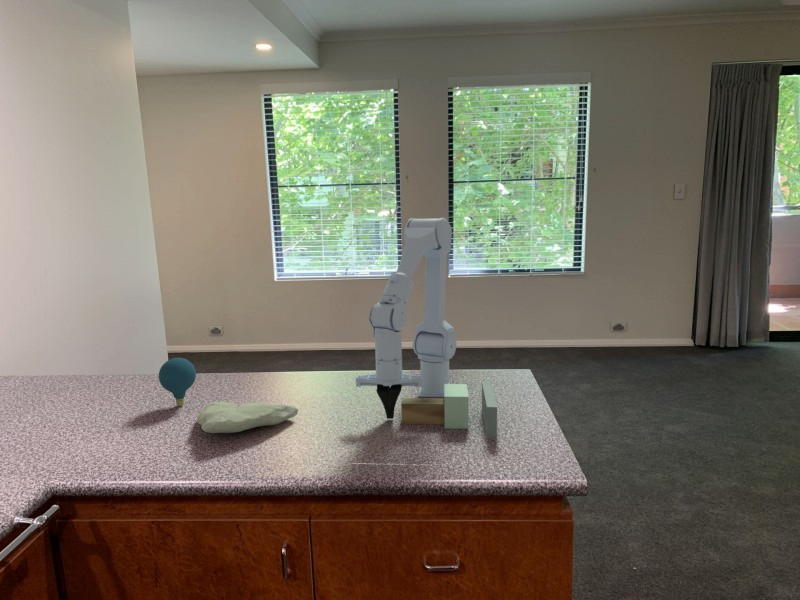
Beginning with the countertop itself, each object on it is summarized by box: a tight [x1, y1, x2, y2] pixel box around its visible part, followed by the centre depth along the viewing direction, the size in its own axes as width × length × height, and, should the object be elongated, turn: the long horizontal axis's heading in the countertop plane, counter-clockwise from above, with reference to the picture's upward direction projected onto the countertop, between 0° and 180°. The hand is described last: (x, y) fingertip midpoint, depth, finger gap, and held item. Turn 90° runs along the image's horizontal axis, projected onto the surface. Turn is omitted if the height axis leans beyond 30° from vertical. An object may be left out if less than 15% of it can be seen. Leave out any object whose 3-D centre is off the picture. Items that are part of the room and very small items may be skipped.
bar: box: [400, 397, 445, 425], centre depth 118 cm, size 4×12×5 cm, turn 84°
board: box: [481, 380, 498, 440], centre depth 115 cm, size 16×2×7 cm, turn 175°
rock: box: [196, 401, 299, 434], centre depth 116 cm, size 24×6×20 cm
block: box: [443, 383, 469, 430], centre depth 117 cm, size 8×5×7 cm, turn 175°
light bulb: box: [158, 357, 197, 407], centre depth 130 cm, size 8×8×12 cm
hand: (390, 416), depth 119 cm, fingers closed
